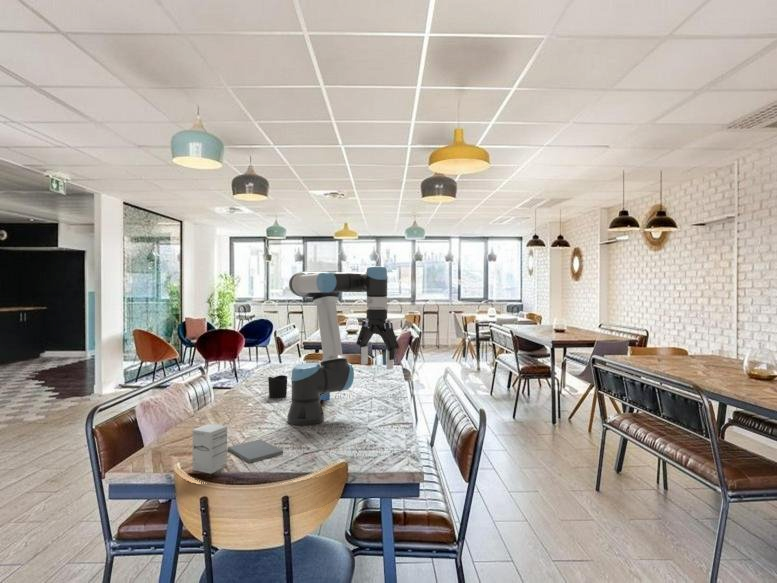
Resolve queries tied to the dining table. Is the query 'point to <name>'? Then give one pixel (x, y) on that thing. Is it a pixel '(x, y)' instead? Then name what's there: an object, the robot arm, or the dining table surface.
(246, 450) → the slate mat
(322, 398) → the label tape box
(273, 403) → the dining table surface
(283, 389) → the pen holder
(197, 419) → the dining table surface
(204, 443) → the supplement box
